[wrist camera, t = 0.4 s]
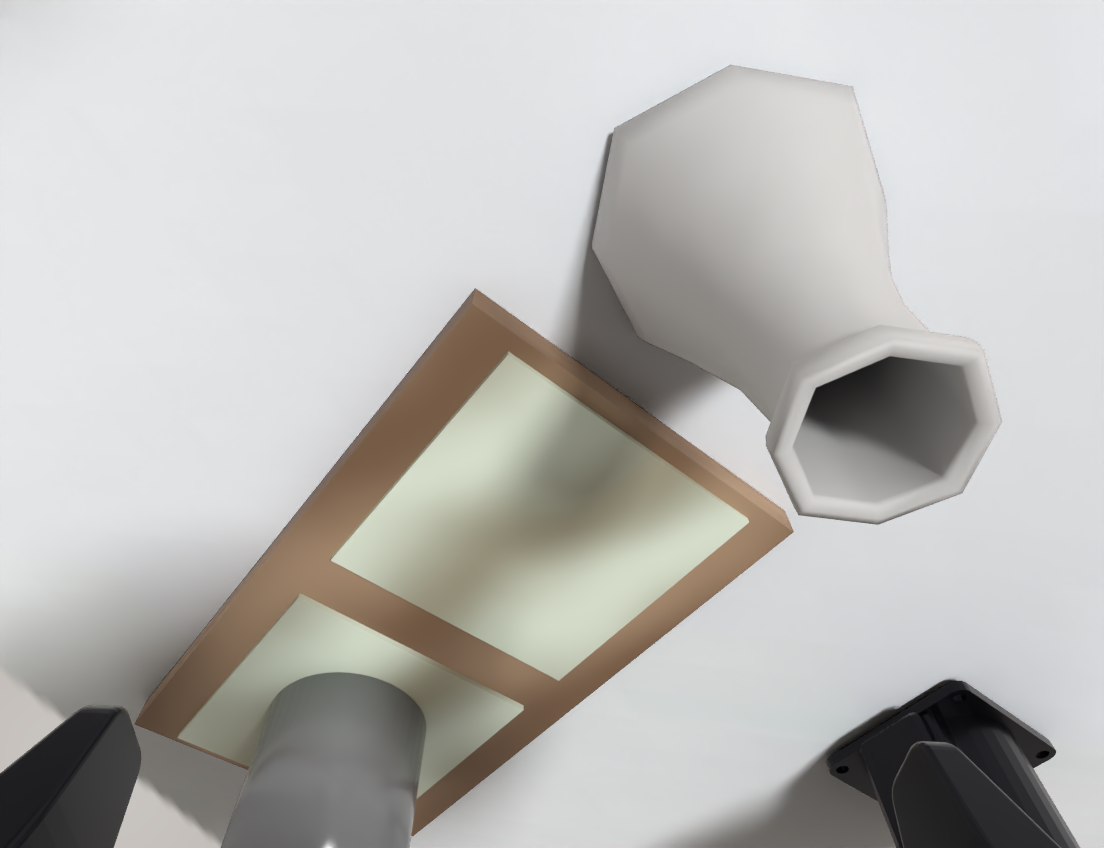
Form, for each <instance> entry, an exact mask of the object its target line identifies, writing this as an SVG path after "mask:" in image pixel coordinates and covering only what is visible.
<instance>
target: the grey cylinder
mask: <svg viewBox="0 0 1104 848" xmlns="http://www.w3.org/2000/svg"><path fill="white" fill-rule="evenodd" d="M425 737H426V720H425V717H424V714H423V712H422V710H421V709H420V707H419V705H418V704H417V703H416V702H415V701H414V700H413V699H412V698H411V697H410V696H409V695H408V694H407V693H405V692H404V691H402V690H401V689H399V688H398V687H396V686H394V685H392V684H390V683H388V682H385V681H383V680H380V679H377V678H374V677H371V676H366V675H362V674H355V673H345V672H331V673H321V674H316V675H311V676H307V677H304V678H302V679H299V680H297V681H295V682H293V683H291V684H289V685H288V686H286V687H285V688H284V689H282V690H281V691H280V692H279V693H278V694H277V696H276V697H275V698H274V700H273V702H272V704H271V707H270V710H269V712H268V715H267V718H266V721H265V724H264V727H263V729H262V732H261V735H260V738H259V741H258V744H257V746H256V749H255V752H254V755H253V758H252V761H251V763H250V766H249V769H248V772H247V775H246V778H245V780H244V783H243V786H242V789H241V792H240V795H239V797H238V800H237V803H236V806H235V809H234V812H233V815H232V817H231V820H230V823H229V826H228V829H227V832H226V834H225V837H224V840H223V843H222V846H221V848H410V841H411V834H412V827H413V820H414V813H415V806H416V799H417V792H418V785H419V779H420V772H421V765H422V758H423V751H424V744H425Z"/></svg>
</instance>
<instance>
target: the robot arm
mask: <svg viewBox="0 0 1104 848" xmlns="http://www.w3.org/2000/svg"><path fill="white" fill-rule="evenodd" d="M1055 754H1056V750H1055V749H1054V747H1053V745H1052V744H1051V742H1050V741H1049V740H1048V739H1047V738H1046V737H1044V736H1043V735H1041V734H1040V733H1038V732H1037V731H1035V730H1034V729H1032V728H1031V727H1030V726H1028V725H1027V724H1025V723H1024V722H1022V721H1021V720H1019V719H1018V718H1016V717H1015V716H1014V715H1012V714H1011V713H1009V712H1008V711H1006V710H1005V709H1003V708H1002V707H1000V706H999V705H998V704H996V703H995V702H993V701H992V700H990V699H989V698H987V697H986V696H984V695H983V694H982V693H980V692H979V691H977V690H976V689H974V688H973V687H971V686H970V685H968V684H967V683H965V682H963V681H953V682H950V683H948V684H946V685H944V686H943V687H941V688H939V689H938V690H936V691H935V692H933V693H931V694H930V695H928V696H927V697H925V698H923V699H922V700H920V701H919V702H917V703H915V704H914V705H912V706H911V707H909V708H907V709H906V710H904V711H902V712H901V713H899V714H898V715H896V716H894V717H893V718H891V719H890V720H888V721H886V722H885V723H883V724H882V725H880V726H878V727H877V728H875V729H874V730H872V731H870V732H869V733H867V734H866V735H864V736H862V737H861V738H859V739H858V740H856V741H854V742H853V743H851V744H850V745H848V746H846V747H845V748H843V749H842V750H840V751H838V752H837V753H835V754H833V755H832V756H831V757H829V758H828V760H827V765H828V768H829V771H830V774H832V775H833V776H834V777H836V778H838V779H840V780H841V781H843V782H845V783H847V784H849V785H850V786H852V787H854V788H856V789H857V790H859V791H861V792H863V793H865V794H866V795H868V796H870V797H872V798H873V799H875V800H877V801H878V802H879V804H880V807H881V809H882V812H883V814H884V817H885V820H886V822H887V825H888V827H889V830H890V832H891V835H892V837H893V840H894V843H895V845H896V848H1080V846H1079V845H1078V843H1077V841H1076V840H1075V838H1074V836H1073V835H1072V833H1071V831H1070V830H1069V828H1068V826H1067V825H1066V823H1065V821H1064V820H1063V818H1062V816H1061V814H1060V813H1059V811H1058V809H1057V808H1056V806H1055V804H1054V803H1053V801H1052V799H1051V798H1050V796H1049V794H1048V793H1047V791H1046V789H1045V788H1044V786H1043V784H1042V782H1041V781H1040V779H1039V777H1038V776H1037V774H1036V772H1035V771H1034V769H1033V768H1035V767H1037V766H1038V765H1040V764H1042V763H1044V762H1046V761H1048V760H1050V759H1051V758H1052V757H1054V755H1055ZM140 764H141V751H140V747H139V744H138V741H137V738H136V735H135V732H134V729H133V726H132V723H131V720H130V717H129V714H128V712H127V710H125V709H124V708H123V707H121V706H106V705H89V706H86V707H83V708H81V709H80V710H78V711H77V712H75V713H74V714H73V715H72V716H70V717H69V718H68V719H67V720H65V721H64V722H63V723H62V724H60V725H59V726H58V727H57V728H56V729H54V730H53V731H52V732H51V733H49V734H48V735H47V736H46V737H45V738H43V739H42V740H41V741H40V742H38V743H37V744H36V745H35V746H33V747H32V748H31V749H30V750H28V751H27V752H26V753H25V754H24V755H22V756H21V757H20V758H19V759H17V760H16V761H15V762H14V763H12V764H11V765H10V766H9V767H8V768H6V769H5V770H4V771H3V772H1V773H0V848H113V847H114V845H115V842H116V839H117V836H118V833H119V830H120V827H121V824H122V821H123V818H124V815H125V812H126V809H127V806H128V803H129V800H130V797H131V794H132V791H133V788H134V785H135V782H136V779H137V776H138V773H139V769H140Z"/></svg>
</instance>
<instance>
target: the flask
mask: <svg viewBox="0 0 1104 848" xmlns="http://www.w3.org/2000/svg"><path fill="white" fill-rule="evenodd" d="M592 249H593V250H594V252H595V254H596V256H597V258H598V260H599V262H600V264H601V266H602V268H603V270H604V272H605V274H606V276H607V278H608V279H609V281H610V283H611V285H612V287H613V289H614V291H615V293H616V295H617V297H618V299H619V301H620V303H621V305H622V306H623V308H624V310H625V312H626V314H627V316H628V318H629V320H630V322H631V324H632V326H633V328H634V330H635V332H636V334H637V335H638V337H639V338H640V339H642V340H644V341H646V342H648V343H650V344H652V345H654V346H656V347H658V348H660V349H663V350H665V351H667V352H669V353H672V354H674V355H676V356H678V357H681V358H683V359H685V360H687V361H689V362H691V363H693V364H695V365H696V366H698V367H700V368H702V369H704V370H705V371H707V372H709V373H711V374H712V375H714V376H716V377H718V378H720V379H721V380H723V381H725V382H727V383H729V384H730V385H732V386H734V387H736V388H738V389H739V390H741V391H742V392H743V393H744V394H745V396H746V397H747V398H748V399H749V400H750V401H751V402H752V403H753V404H754V405H755V406H756V407H757V408H758V409H759V410H760V411H761V412H762V414H763V415H764V416H765V417H766V418H767V419H768V420H769V421H770V422H771V423H770V425H769V428H768V431H767V434H766V447H767V449H768V451H769V453H770V455H771V458H772V460H773V462H774V464H775V466H776V469H777V471H778V473H779V475H780V477H781V480H782V482H783V484H784V486H785V488H786V490H787V493H788V495H789V497H790V499H791V501H792V504H793V506H794V508H795V510H796V511H797V513H798V515H802V516H810V517H819V518H827V519H836V520H844V521H852V522H861V523H869V524H881V523H884V522H886V521H889V520H892V519H894V518H897V517H900V516H902V515H905V514H908V513H910V512H913V511H916V510H918V509H921V508H924V507H926V506H929V505H932V504H934V503H937V502H940V501H942V500H945V499H948V498H950V497H953V496H956V495H958V494H961V493H963V491H964V489H965V487H966V485H967V484H968V482H969V480H970V478H971V477H972V475H973V473H974V471H975V469H976V468H977V466H978V464H979V462H980V460H981V459H982V457H983V455H984V453H985V451H986V450H987V448H988V446H989V444H990V442H991V441H992V439H993V437H994V435H995V433H996V432H997V430H998V428H999V426H1000V425H1001V423H1002V419H1001V415H1000V411H999V407H998V403H997V399H996V395H995V391H994V387H993V383H992V379H991V375H990V371H989V367H988V363H987V359H986V355H985V351H984V349H983V348H982V347H981V346H980V345H979V344H978V342H976V341H974V340H971V339H969V338H966V337H962V336H955V335H948V334H941V333H934V332H930V331H929V329H928V328H927V327H926V326H925V325H924V324H923V323H922V322H921V321H920V320H919V319H918V318H917V317H916V316H915V315H914V314H913V312H912V311H911V310H910V309H909V308H908V307H907V306H906V305H905V304H904V302H903V300H902V298H901V295H900V293H899V291H898V289H897V287H896V285H895V283H894V281H893V279H892V273H891V266H890V259H889V250H888V223H887V208H886V200H885V196H884V192H883V189H882V186H881V182H880V179H879V175H878V172H877V168H876V165H875V162H874V158H873V155H872V151H871V148H870V145H869V141H868V138H867V134H866V131H865V127H864V124H863V121H862V117H861V114H860V110H859V107H858V103H857V100H856V97H855V93H854V90H853V86H848V85H842V84H836V83H831V82H825V81H819V80H814V79H808V78H802V77H797V76H791V75H785V74H780V73H774V72H768V71H763V70H757V69H751V68H746V67H740V66H734V65H729V66H727V67H725V68H724V69H722V70H720V71H718V72H716V73H714V74H713V75H711V76H709V77H707V78H705V79H704V80H702V81H700V82H698V83H696V84H694V85H693V86H691V87H689V88H687V89H685V90H683V91H682V92H680V93H678V94H676V95H674V96H672V97H671V98H669V99H667V100H665V101H663V102H661V103H660V104H658V105H656V106H654V107H652V108H650V109H649V110H647V111H645V112H643V113H641V114H639V115H638V116H636V117H634V118H632V119H630V120H628V121H627V122H625V123H623V124H621V125H619V126H617V127H616V128H614V132H613V137H612V142H611V148H610V153H609V158H608V163H607V168H606V174H605V179H604V184H603V189H602V194H601V200H600V205H599V210H598V215H597V220H596V226H595V231H594V236H593V241H592Z"/></svg>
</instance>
